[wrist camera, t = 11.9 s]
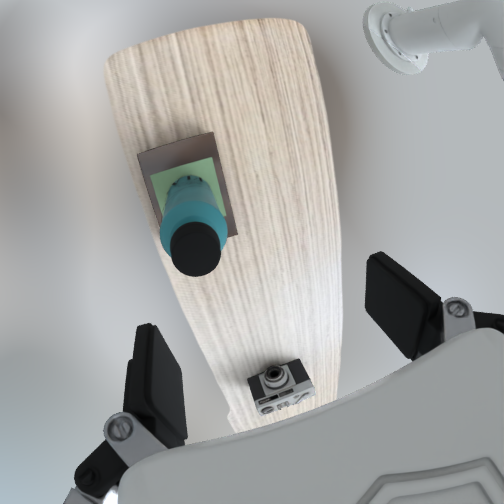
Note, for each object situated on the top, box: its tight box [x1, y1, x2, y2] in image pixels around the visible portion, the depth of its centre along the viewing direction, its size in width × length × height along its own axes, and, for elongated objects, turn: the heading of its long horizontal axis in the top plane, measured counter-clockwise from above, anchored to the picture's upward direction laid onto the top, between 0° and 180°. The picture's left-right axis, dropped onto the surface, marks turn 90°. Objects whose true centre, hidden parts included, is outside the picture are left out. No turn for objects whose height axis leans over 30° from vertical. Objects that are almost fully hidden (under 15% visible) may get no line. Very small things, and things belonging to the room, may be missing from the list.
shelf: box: [137, 132, 238, 238], centre depth 40 cm, size 16×11×4 cm
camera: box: [247, 359, 316, 416], centre depth 59 cm, size 14×8×10 cm, turn 107°
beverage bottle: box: [160, 175, 227, 277], centre depth 29 cm, size 6×7×20 cm
